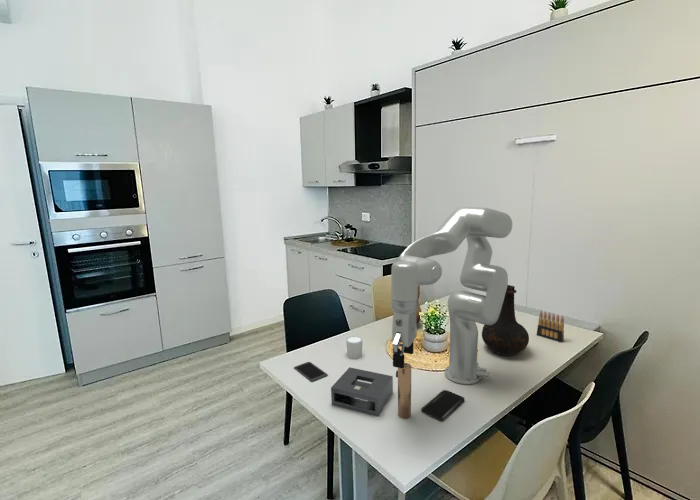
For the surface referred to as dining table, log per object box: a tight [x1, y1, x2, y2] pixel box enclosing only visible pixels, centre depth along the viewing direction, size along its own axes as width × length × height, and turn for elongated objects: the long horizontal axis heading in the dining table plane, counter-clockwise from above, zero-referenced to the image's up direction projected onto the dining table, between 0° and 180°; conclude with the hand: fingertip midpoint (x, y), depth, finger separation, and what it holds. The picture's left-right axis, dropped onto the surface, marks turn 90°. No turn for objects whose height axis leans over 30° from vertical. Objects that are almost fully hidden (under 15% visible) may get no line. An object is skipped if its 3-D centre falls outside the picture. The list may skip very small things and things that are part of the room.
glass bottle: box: [481, 284, 530, 356], centre depth 148 cm, size 18×18×28 cm
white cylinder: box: [345, 335, 363, 359], centre depth 149 cm, size 7×7×7 cm
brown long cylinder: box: [395, 362, 412, 420], centre depth 110 cm, size 4×4×16 cm
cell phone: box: [293, 361, 329, 383], centre depth 138 cm, size 7×14×1 cm, turn 37°
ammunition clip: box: [536, 309, 565, 344], centre depth 160 cm, size 11×2×12 cm, turn 38°
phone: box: [420, 389, 466, 423], centre depth 115 cm, size 8×1×15 cm
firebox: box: [330, 366, 394, 417], centre depth 119 cm, size 16×14×6 cm
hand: (403, 359), depth 107 cm, fingers open, 9 cm apart
